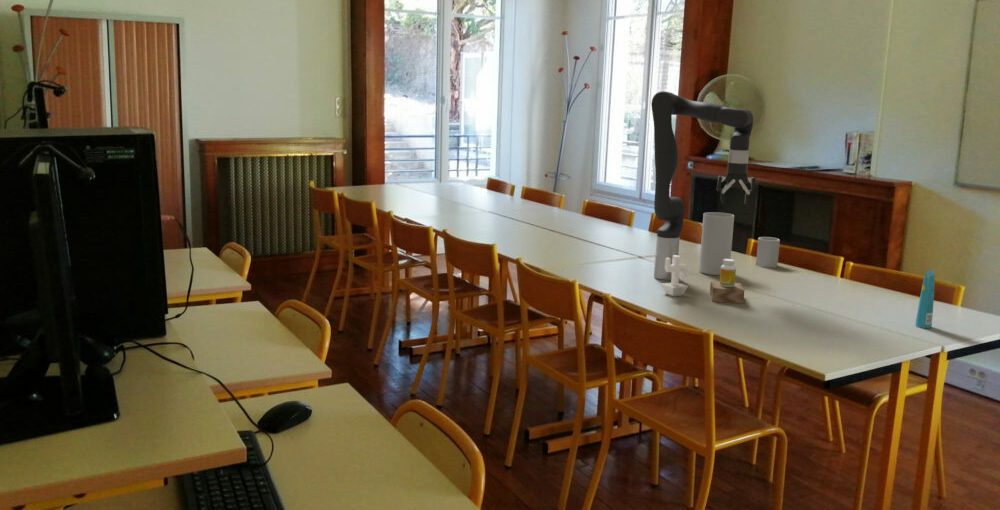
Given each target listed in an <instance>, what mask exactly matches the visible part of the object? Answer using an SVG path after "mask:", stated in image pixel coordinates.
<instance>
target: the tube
mask: <svg viewBox="0 0 1000 510" xmlns="http://www.w3.org/2000/svg"><path fill="white" fill-rule="evenodd" d="M935 279H936V278H935V269H932V270H929V271H926V272H925V274H924V278H923V282H922V286H921V291H920V296H919V301H918V307H917V313H916V319H915V326H916V327H918V328H922V329H931V328H932V324H933V313H934V302H935V299H934V298H935V283H936V281H935Z"/></svg>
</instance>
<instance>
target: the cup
mask: <svg viewBox="0 0 1000 510" xmlns="http://www.w3.org/2000/svg"><path fill="white" fill-rule="evenodd" d="M780 241H781V240H780V239H779V238H777V237H771V236H759V237H758V238H757V248H756V249H757V250H756V259H755V260H756V261H755V266H757V267H761V268H769V269H771V268H777V267H778V265H779V263H778V262H779V253H780V252H779V251H780V244H781V242H780Z"/></svg>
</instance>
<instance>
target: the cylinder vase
mask: <svg viewBox="0 0 1000 510" xmlns="http://www.w3.org/2000/svg"><path fill="white" fill-rule="evenodd" d="M702 217H703V218H702V228H701V229H702V230H701V232H702V233H701V243H700V256H699V265H698V267H699V268H698V269H699V272H700V273H701V274H704V275H709V276H718V277H720V272H721V266H722V265H724V263H723V260H724V259H732V248H733V237H734V236H733V234H734V225H735V223H734V222H735V215H734V214H733V213H727V212H718V211H717V212H716V211H715V212H714V211H711V212H704V213H703V216H702Z"/></svg>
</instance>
